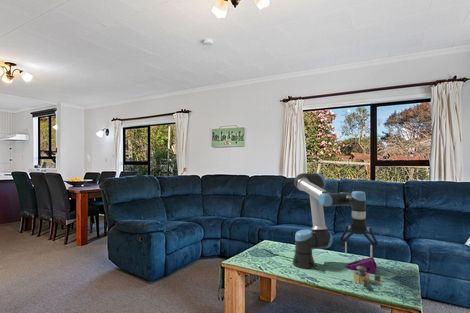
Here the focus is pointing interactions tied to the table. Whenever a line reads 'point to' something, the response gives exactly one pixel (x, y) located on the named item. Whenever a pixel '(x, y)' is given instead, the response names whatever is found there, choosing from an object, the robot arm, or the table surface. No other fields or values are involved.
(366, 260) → the mounting bracket
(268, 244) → the table surface
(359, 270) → the base
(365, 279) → the collar
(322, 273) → the table surface
